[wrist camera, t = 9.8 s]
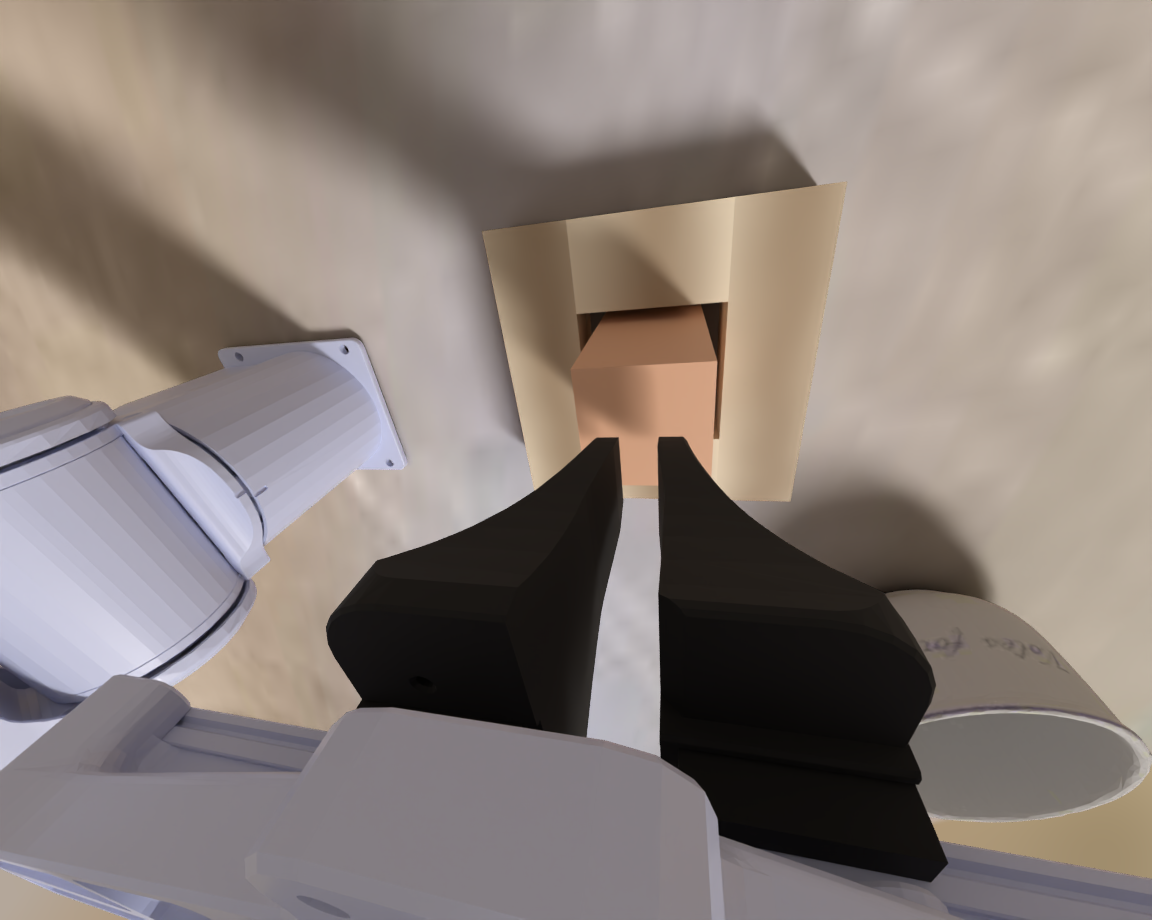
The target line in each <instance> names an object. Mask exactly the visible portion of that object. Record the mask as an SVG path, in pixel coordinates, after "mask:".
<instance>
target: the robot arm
mask: <svg viewBox="0 0 1152 920" xmlns="http://www.w3.org/2000/svg"><path fill="white" fill-rule="evenodd" d="M344 345H345V346H346V347H347V348H348V350H349V352H348V351H347V350H346V349H345V347H344ZM218 357H219V359H220V361H221V363H222V364H223V366H224V369H221V370H218V371H215V372H213V373H210V374H207V375H204V376H202V377H199V378H196V379H193V380H191V381H188V382H185V383H182V384H179V385H177V386H174V387H171V388H168V389H166V390H163V391H160V392H157V393H155V394H152V395H149V396H146V397H144V398H141V399H138V400H135V401H133V402H130V403H127V404H124V405H122V406H120V407H118V408H116V409H114V410H112V409H111V408H110V407H109V406H108V405H107V404H106V403H104V402H101V401H93V402H91V401H89V400H87V399H83V398H78V397H74V396H63V397H58V398H54V399H49V400H45V401H41V402H37V403H33V404H30V405H26V406H22V407H18V408H15V409H11V410H7V411H4V412H0V665H1V666H2V667H1V666H0V869H2V870H4V871H7V872H9V873H11V874H13V875H16V876H18V877H20V878H22V879H25V880H27V881H29V882H31V883H34V884H36V885H38V886H40V887H43V888H45V889H47V890H49V891H52V892H54V893H56V894H59V895H62V896H65V897H68V898H71V899H73V900H77V901H79V902H82V903H85V904H88V905H91V906H93V907H96V908H99V909H102V910H104V911H107V912H110V913H113V914H115V915H118V916H121V917H124V918H127V919H129V920H1152V879H1150V878H1145V877H1139V876H1134V875H1128V874H1123V873H1117V872H1111V871H1106V870H1100V869H1095V868H1089V867H1083V866H1078V865H1072V864H1067V863H1060V862H1055V861H1050V860H1044V859H1039V858H1032V857H1027V856H1021V855H1016V854H1011V853H1005V852H999V851H994V850H987V849H983V848H976V847H971V846H966V845H960V844H955V843H949V842H943V841H939V840H938V837H937V834H936V832H935V830H934V827H933V825H932V823H931V820H930V818H929V815H928V813H927V811H926V808H925V806H924V803H923V801H922V799H921V796H920V794H919V792H918V789H917V787H916V785H919V784H920V783H921V781H922V775H921V770H920V768H919V766H918V763H917V761H916V759H915V757H914V754H913V752H912V750H911V747H910V745H909V742H910V740H911V738H912V736H913V734H914V733H915V731H916V729H917V727H918V725H919V724H920V722H921V720H922V718H923V716H924V715H925V713H926V711H927V709H928V707H929V706H930V704H931V702H932V699H933V695H934V691H935V688H936V682H935V678H934V674H933V670H932V667H931V665H930V663H929V662H928V660H927V658H926V656H925V654H924V653H923V651H922V649H921V647H920V646H919V644H918V642H917V640H916V638H915V637H914V635H913V634H912V632H911V631H910V629H909V628H908V626H907V625H906V623H905V621H904V620H903V619H902V617H901V616H900V615H899V613H898V612H897V611H896V609H895V608H894V607H893V605H892V604H891V603H890V601H889V599H888V598H887V596H886V595H885V594H884V593H883V592H881V591H879V590H877V589H875V588H873V587H871V586H868V585H866V584H864V583H862V582H860V581H858V580H856V579H854V578H851V577H849V576H847V575H845V574H843V573H841V572H839V571H837V570H835V569H832V568H830V567H828V566H827V565H825V564H823V563H821V562H819V561H817V560H816V559H814V558H812V557H810V556H809V555H807V554H805V553H803V552H802V551H800V550H798V549H796V548H795V547H793V546H792V545H790V544H788V543H787V542H785V541H784V540H782V539H780V538H779V537H778V536H776V535H775V534H773V533H772V532H770V531H769V530H768V529H766V528H765V527H763V526H762V525H760V524H759V523H758V522H756V521H755V520H754V519H753V518H751V517H750V516H749V515H748V514H746V513H745V512H744V511H743V510H742V509H741V508H740V507H738V506H737V505H736V504H735V503H734V502H733V501H732V500H731V499H730V498H729V497H728V496H727V495H726V494H725V493H724V491H723V490H722V489H721V488H720V487H719V486H718V485H717V484H716V483H715V481H714V480H713V479H712V478H711V477H710V475H709V474H708V473H707V471H706V470H705V469H704V467H703V466H702V465H701V463H700V462H699V461H698V459H697V457H696V456H695V454H694V453H693V451H692V449H691V448H690V446H689V444H688V441H687V440H686V439H685V438H684V437H683V436H679V437H659V438H658V446H657V451H658V501H659V536H660V548H661V568H660V581H659V592H658V599H659V642H660V684H661V701H660V752H661V758H660V757H658V756H657V755H653V754H650V753H647V752H643V751H640V750H636V749H633V748H629V747H626V746H622V745H619V744H616V743H612V742H609V741H605V740H599V739H592V738H586V736H587V727H588V718H589V708H590V699H591V690H592V681H593V673H594V664H595V656H596V648H597V640H598V632H599V625H600V617H601V611H602V606H603V601H604V596H605V592H606V588H607V584H608V579H609V575H610V571H611V567H612V563H613V559H614V555H615V550H616V546H617V542H618V538H619V533H620V528H621V518H622V508H623V488H622V475H621V461H620V447H619V437H597V438H595V439H594V440H593V441H592V442H591V443H590V444H589V445H588V446H586V447H585V448H584V449H583V450H582V451H581V452H580V453H579V454H578V455H577V456H576V457H575V458H574V459H573V460H571V461H570V462H569V463H568V464H567V465H566V466H565V467H564V468H563V469H561V470H560V471H559V472H558V473H556V474H555V475H554V476H553V477H551V478H550V479H549V480H548V481H546V482H545V483H544V484H543V485H541V486H540V487H539V488H537V489H536V490H535V491H533V492H532V493H530V494H529V495H527V496H526V497H524V498H523V499H521V500H520V501H518V502H516V503H515V504H513V505H512V506H510V507H508V508H507V509H505V510H503V511H501V512H499V513H497V514H495V515H493V516H491V517H490V518H488V519H486V520H484V521H482V522H480V523H478V524H476V525H474V526H472V527H470V528H467V529H465V530H463V531H460V532H458V533H456V534H453V535H451V536H448V537H446V538H443V539H441V540H438V541H436V542H433V543H430V544H428V545H425V546H422V547H419V548H416V549H412V550H409V551H406V552H403V553H400V554H397V555H394V556H391V557H388V558H384V559H380V560H377V561H376V562H375V563H374V564H373V565H372V567H371V568H370V569H369V570H368V571H367V573H366V574H365V575H364V576H363V577H362V579H361V580H360V581H359V582H358V583H357V585H356V586H355V587H354V588H353V589H352V591H351V592H350V593H349V594H348V595H347V597H346V598H345V599H344V600H343V601H342V603H341V604H340V605H339V606H338V607H337V609H336V610H335V611H334V612H333V613H332V615H331V616H330V618H329V621H328V623H327V626H326V632H327V640H328V645H329V647H330V649H331V651H332V653H333V655H334V657H335V659H336V660H337V662H338V663H339V665H340V666H341V668H342V669H343V671H344V672H345V674H346V675H347V677H348V678H349V680H350V681H351V683H352V684H353V686H354V687H355V689H356V691H357V692H358V694H359V695H360V697H361V698H362V701H361V702H360V704H359V705H358V707H357V709H355V710H352V711H349V712H346V713H345V714H344V715H343V716H342V717H341V718H340V719H339V720H338V721H337V722H335V723H334V724H333V725H332V726H331V728H330V729H329V731H328V732H327V731H322V730H316V729H311V728H305V727H299V726H294V725H288V724H283V723H277V722H271V721H266V720H260V719H255V718H249V717H243V716H238V715H232V714H227V713H221V712H215V711H210V710H204V709H199V708H193V707H191V706H190V702H189V701H188V700H187V699H186V698H185V697H184V696H183V695H182V694H181V693H180V692H179V691H178V690H176V689H175V688H174V687H172V686H174V685H175V684H177V683H178V682H180V681H182V680H183V679H185V678H186V677H188V676H189V675H190V674H192V673H193V672H195V671H196V670H197V669H199V668H200V667H201V666H202V665H204V664H205V663H206V662H207V661H209V660H210V659H211V658H212V657H213V656H214V655H215V654H217V653H218V652H219V651H220V650H221V649H222V648H223V647H224V646H225V645H226V644H227V643H228V642H229V641H230V640H231V638H232V637H233V636H234V635H235V634H236V632H237V631H238V630H239V628H240V627H241V625H242V624H243V622H244V620H245V619H246V617H247V615H248V613H249V612H250V610H251V608H252V606H253V604H254V601H255V599H256V594H257V589H256V586H255V583H254V582H253V580H252V579H251V577H252V576H253V575H254V574H256V573H257V572H258V571H259V570H260V569H261V568H262V567H264V566H265V565H266V564H267V563H268V562H269V561H270V557H269V556H268V554H267V553H266V551H265V549H264V546H265V545H266V544H267V543H269V542H270V541H271V540H272V539H273V538H275V537H276V536H277V535H278V534H279V533H281V532H282V531H283V530H284V529H285V528H287V527H288V526H289V525H290V524H291V523H293V522H294V521H295V520H296V519H297V518H299V517H300V516H301V515H302V514H303V513H305V512H306V511H307V510H308V509H309V508H311V507H312V506H313V505H314V504H315V503H317V502H318V501H319V500H320V499H321V498H323V497H324V496H325V495H326V494H327V493H329V492H330V491H331V490H332V489H333V488H335V487H336V486H337V485H338V484H339V483H341V482H342V481H343V480H344V479H345V478H347V477H348V476H349V475H350V474H351V473H353V472H354V471H355V470H356V469H378V470H401V469H403V468H404V467H405V466H406V465H407V459H406V456H405V454H404V451H403V448H402V446H401V443H400V440H399V438H398V435H397V432H396V430H395V427H394V424H393V422H392V419H391V416H390V414H389V411H388V408H387V406H386V403H385V400H384V398H383V395H382V392H381V390H380V387H379V384H378V381H377V379H376V376H375V373H374V371H373V368H372V365H371V363H370V360H369V357H368V355H367V352H366V349H365V347H364V345H363V343H362V342H361V341H360V340H359V339H357V338H342V339H330V340H317V341H304V342H291V343H279V344H266V345H253V346H240V347H228V348H223V349H220V350H219V351H218ZM390 460H391V461H392V462H393V463H392V462H391V461H390Z"/></svg>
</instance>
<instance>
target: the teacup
mask: <svg viewBox="0 0 1152 920" xmlns="http://www.w3.org/2000/svg"><path fill="white" fill-rule="evenodd" d="M885 595H886V596H887V598H888V599H889V601H890V603H891V604H892V605H893V607H894V608H895V609H896V611H897V612H898V613H899V615H900V616H901V617H902V619H903V620H904V621H905V623H906V625H907V626H908V628H909V629H910V631H911V632H912V634H913V635H914V637H915V638H916V640H917V642H918V644H919V646H920V647H921V649H922V651H923V653H924V654H925V656H926V658H927V660H928V662H929V663H930V665H931V667H932V670H933V674H934V678H935V682H936V688H935V691H934V695H933V699H932V702H931V704H930V706H929V707H928V709H927V711H926V713H925V715H924V716H923V718H922V720H921V722H920V724H919V725H918V727H917V729H916V731H915V733H914V734H913V736H912V738H911V740H910V742H909V745H910V747H911V750H912V752H913V754H914V757H915V759H916V761H917V763H918V766H919V768H920V770H921V775H922V781H921V783H920V784H919V785H916V787H917V789H918V792H919V794H920V796H921V799H922V801H923V803H924V806H925V808H926V811H927V813H928V815H929V817H934V818H939V819H947V820H959V821H975V822H1017V821H1026V820H1035V819H1038V820H1040V819H1046V818H1051V817H1059V816H1064V815H1066V814H1068V813H1076V812H1081V811H1085V810H1088V809H1091V808H1094V807H1097V806H1100V805H1103V804H1106V803H1108V802H1111V801H1113V800H1115V799H1118V798H1120V797H1122V796H1123V795H1125V794H1127V793H1128V792H1130V791H1131V790H1133V789H1134V788H1135V787H1137V786H1138V785H1139V784H1140V783H1141V782H1142V781H1143V779H1144V778H1145V776H1146V775H1147V774H1148V772H1149V771H1150V765H1151V763H1152V754H1151V753H1150V751H1149V749H1148V748H1147V746H1146V745H1145V743H1144V742H1143V741H1142V739H1141V738H1140V737H1139V736H1138V735H1137V734H1136V733H1135V732H1133V731H1132V730H1131V729H1129V728H1128V727H1126V726H1125V725H1123V724H1122V723H1121V722H1120V721H1119V720H1118V718H1117V717H1116V716H1115V715H1114V714H1113V713H1112V712H1111V710H1110V709H1109V708H1108V707H1107V706H1106V705H1105V704H1104V702H1103V701H1102V700H1101V699H1100V698H1099V697H1098V695H1097V694H1096V693H1095V692H1094V691H1093V690H1092V689H1091V687H1090V686H1089V685H1088V684H1087V683H1086V682H1085V681H1084V680H1083V679H1082V678H1081V676H1080V675H1079V674H1078V673H1077V672H1076V671H1075V670H1074V669H1073V668H1072V667H1071V666H1070V664H1069V663H1068V662H1067V661H1066V660H1065V659H1064V658H1063V657H1062V656H1061V655H1060V654H1059V653H1058V652H1057V651H1056V650H1055V649H1054V648H1053V646H1052V645H1051V644H1050V643H1049V642H1048V641H1047V640H1046V639H1045V638H1044V637H1042V636H1041V635H1040V634H1039V633H1038V632H1037V631H1036V630H1035V629H1034V628H1033V627H1031V626H1030V625H1029V624H1028V623H1026V622H1025V621H1023V620H1022V619H1021V618H1019V617H1018V616H1016V615H1015V614H1013V613H1011V612H1010V611H1008V610H1006V609H1005V608H1002V607H1000V606H998V605H996V604H993V603H991V602H988V601H985V600H982V599H979V598H975V597H971V596H967V595H961V594H955V593H946V592H940V591H933V590H904V591H895V592H890V593H886V594H885Z"/></svg>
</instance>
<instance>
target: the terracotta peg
mask: <svg viewBox="0 0 1152 920" xmlns="http://www.w3.org/2000/svg"><path fill="white" fill-rule="evenodd" d="M570 370H571V378H572V385H573V393H574V401H575V408H576V416H577V423H578V431H579V438H580V446H581V451H582V450H583V449H584V448H585V447H586V446H588V445H589V444H590V443H591V442H592V441H593V440H594V439H595V438H597V437H619V447H620V461H621V475H622V485H642V486H658V451H657V446H658V438H659V437H679V436H683V437H684V438H685V439H686V440H687V441H688V444H689V446H690V448H691V449H692V451H693V453H694V454H695V456H696V457H697V459H698V461H699V462H700V463H701V465H702V466H703V467H704V469H705V470H706V471H707V473H708V474H709V475H710V477H711V474H712V455H713V435H714V416H715V397H716V377H717V358H716V355H715V351H714V348H713V345H712V341H711V338H710V334H709V331H708V327H707V324H706V320H705V317H704V314H703V310H702V307H701V304H693V305H681V306H669V307H656V308H644V309H632V310H620V311H608V312H606V313H605V315H604V316H603V318H602V319H601V321H600V323H599V324H598V326H597V327H596V329H595V331H594V332H593V334H592V335H591V337H590V339H589V340H588V342H587V343H586V345H585V347H584V348H583V350H582V351H581V353H580V355H579V356H578V358H577V359H576V361H575V363H574V364H573V366H572V367H571V369H570Z"/></svg>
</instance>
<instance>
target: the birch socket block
mask: <svg viewBox="0 0 1152 920" xmlns="http://www.w3.org/2000/svg"><path fill="white" fill-rule="evenodd" d="M846 186H847V182H840V183H833V184H825V185H818V186H811V187H803V188H796V189H788V190H781V191H774V192H766V193H759V194H752V195H744V196H737V197H730V198H722V199H715V200H708V201H700V202H693V203H685V204H678V205H671V206H663V207H656V208H649V209H641V210H634V211H627V212H619V213H612V214H605V215H597V216H590V217H582V218H575V219H568V220H560V221H553V222H546V223H538V224H531V225H524V226H516V227H509V228H502V229H494V230H487V231H482V235H483V240H484V244H485V249H486V254H487V259H488V264H489V269H490V274H491V279H492V284H493V289H494V294H495V299H496V304H497V308H498V313H499V318H500V323H501V328H502V333H503V338H504V343H505V348H506V353H507V358H508V363H509V368H510V373H511V377H512V382H513V387H514V392H515V397H516V402H517V407H518V412H519V417H520V422H521V427H522V432H523V437H524V441H525V446H526V451H527V456H528V461H529V466H530V471H531V476H532V481H533V486H534V491H535V490H536V489H537V488H539V487H540V486H541V485H543V484H544V483H545V482H546V481H548V480H549V479H550V478H551V477H553V476H554V475H555V474H556V473H558V472H559V471H560V470H561V469H563V468H564V467H565V466H566V465H567V464H568V463H569V462H570V461H571V460H573V459H574V458H575V457H576V456H577V455H578V454H579V453H580V452H581V446H580V438H579V431H578V423H577V416H576V408H575V401H574V393H573V385H572V378H571V370H570V369H571V367H572V366H573V364H574V363H575V361H576V359H577V358H578V356H579V355H580V353H581V351H582V350H583V348H584V347H585V345H586V343H587V342H588V340H589V339H590V337H591V335H592V334H593V332H594V331H595V329H596V327H597V326H598V324H599V323H600V321H601V319H602V318H603V316H604V315H605V313H606V312H608V311H620V310H632V309H644V308H656V307H669V306H681V305H693V304H701V307H702V310H703V314H704V317H705V320H706V324H707V327H708V331H709V334H710V338H711V341H712V345H713V348H714V351H715V355H716V358H717V377H716V397H715V416H714V435H713V455H712V474H711V478H712V479H713V480H714V481H715V483H716V484H717V485H718V486H719V487H720V488H721V489H722V490H723V491H724V493H725V494H726V495H727V496H728V497H729V498H730V499H731V500H743V501H791V495H792V489H793V484H794V478H795V473H796V467H797V461H798V456H799V450H800V444H801V439H802V433H803V428H804V422H805V416H806V411H807V405H808V399H809V394H810V388H811V383H812V377H813V371H814V366H815V360H816V354H817V349H818V343H819V338H820V332H821V326H822V321H823V315H824V309H825V304H826V298H827V293H828V287H829V281H830V276H831V270H832V264H833V259H834V253H835V248H836V242H837V236H838V231H839V225H840V219H841V214H842V208H843V203H844V197H845V191H846ZM622 488H623V498H649V499H658V486H642V485H622Z"/></svg>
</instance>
